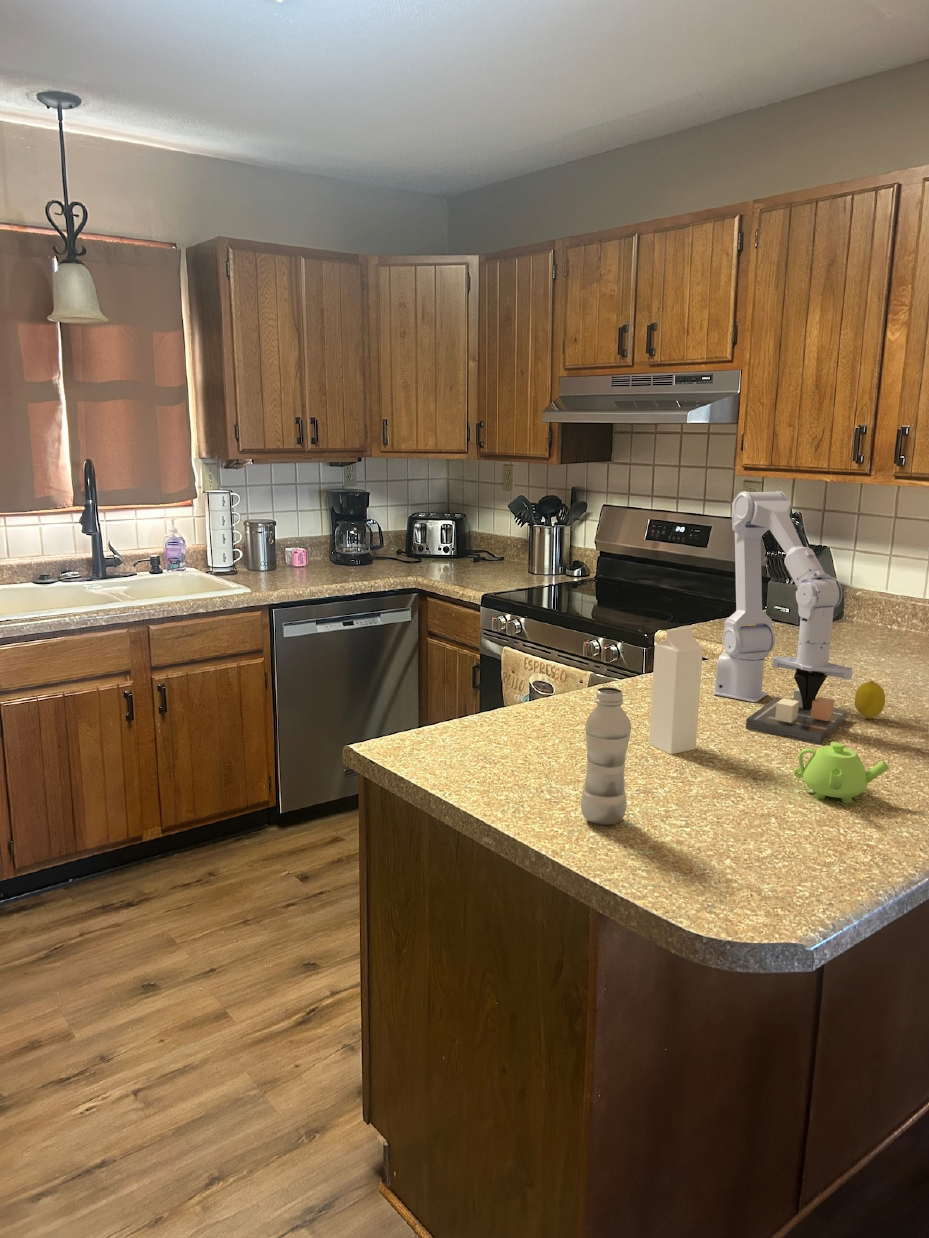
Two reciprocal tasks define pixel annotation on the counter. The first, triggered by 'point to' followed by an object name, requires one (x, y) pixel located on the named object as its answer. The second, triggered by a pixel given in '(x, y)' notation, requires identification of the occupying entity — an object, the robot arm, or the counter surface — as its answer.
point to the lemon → (869, 699)
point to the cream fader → (787, 710)
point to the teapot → (836, 772)
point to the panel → (795, 724)
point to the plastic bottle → (606, 759)
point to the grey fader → (798, 697)
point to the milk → (676, 692)
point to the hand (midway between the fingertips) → (807, 708)
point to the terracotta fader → (822, 708)
